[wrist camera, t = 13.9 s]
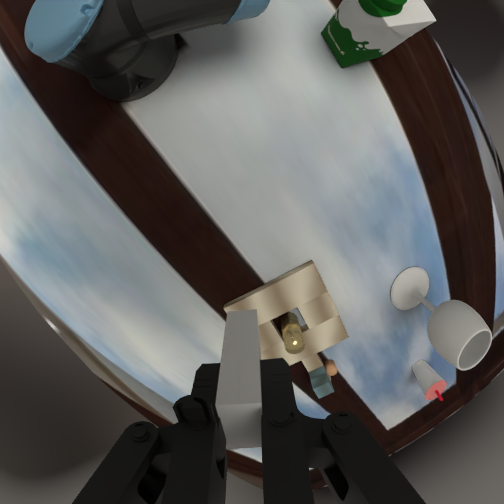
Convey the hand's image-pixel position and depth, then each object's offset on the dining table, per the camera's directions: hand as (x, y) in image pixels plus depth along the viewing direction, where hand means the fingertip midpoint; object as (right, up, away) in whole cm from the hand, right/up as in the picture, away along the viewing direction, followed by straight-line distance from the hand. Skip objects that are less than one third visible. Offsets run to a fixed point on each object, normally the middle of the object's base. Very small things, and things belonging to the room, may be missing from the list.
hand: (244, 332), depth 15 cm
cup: (+38, -21, +39) cm, 58 cm away
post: (+7, -7, +34) cm, 36 cm away
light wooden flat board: (+9, -11, +35) cm, 38 cm away
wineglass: (+29, -2, +33) cm, 44 cm away
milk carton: (+16, +37, +21) cm, 45 cm away
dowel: (+15, -17, +37) cm, 44 cm away
